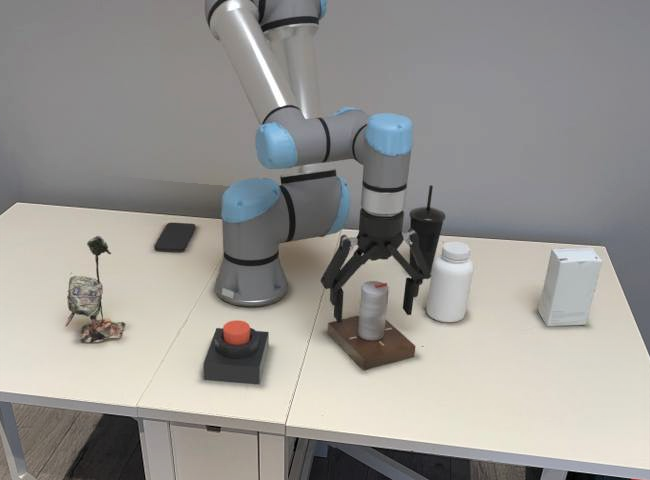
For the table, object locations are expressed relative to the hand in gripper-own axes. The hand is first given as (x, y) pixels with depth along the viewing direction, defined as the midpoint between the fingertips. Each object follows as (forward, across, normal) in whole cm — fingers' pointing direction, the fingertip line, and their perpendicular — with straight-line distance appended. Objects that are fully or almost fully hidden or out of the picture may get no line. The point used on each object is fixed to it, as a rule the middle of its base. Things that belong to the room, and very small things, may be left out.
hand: (372, 315), depth 143 cm
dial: (+4, 0, 0) cm, 4 cm away
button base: (+7, +26, +1) cm, 27 cm away
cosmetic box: (+7, -41, -1) cm, 42 cm away
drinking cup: (+7, -21, -27) cm, 35 cm away
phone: (+7, +31, -55) cm, 63 cm away
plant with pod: (+7, +51, -15) cm, 54 cm away
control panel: (+7, 0, 0) cm, 7 cm away
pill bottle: (+7, -19, -8) cm, 22 cm away
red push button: (+1, +26, +1) cm, 26 cm away
